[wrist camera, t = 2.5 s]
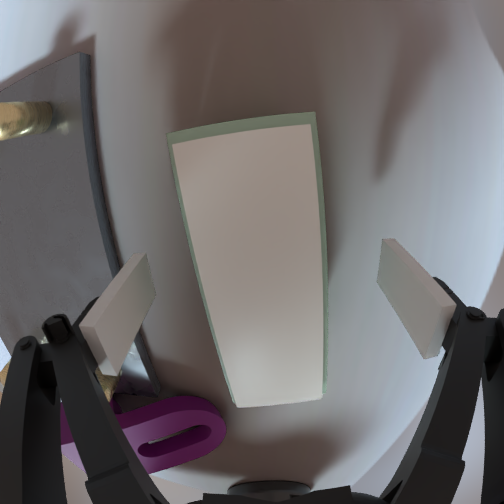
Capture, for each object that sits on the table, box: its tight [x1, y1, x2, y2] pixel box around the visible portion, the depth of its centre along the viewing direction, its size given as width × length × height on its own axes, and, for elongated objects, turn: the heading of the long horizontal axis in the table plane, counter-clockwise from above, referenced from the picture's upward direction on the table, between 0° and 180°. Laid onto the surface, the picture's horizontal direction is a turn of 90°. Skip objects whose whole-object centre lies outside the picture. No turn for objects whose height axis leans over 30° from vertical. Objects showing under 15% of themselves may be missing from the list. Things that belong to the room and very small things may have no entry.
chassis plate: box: [0, 52, 161, 403], centre depth 18 cm, size 30×20×6 cm, turn 4°
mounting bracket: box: [60, 396, 226, 474], centre depth 27 cm, size 9×8×18 cm
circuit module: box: [166, 112, 328, 408], centre depth 17 cm, size 16×6×8 cm, turn 8°
